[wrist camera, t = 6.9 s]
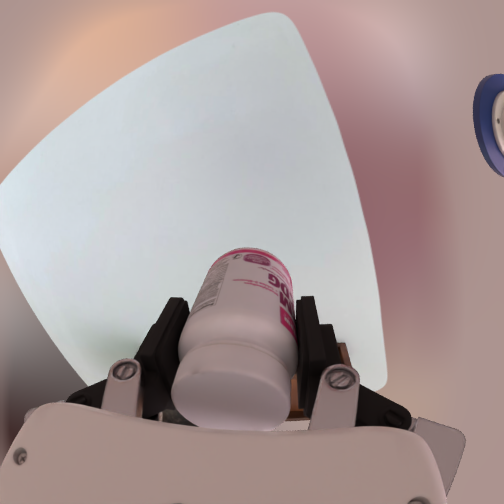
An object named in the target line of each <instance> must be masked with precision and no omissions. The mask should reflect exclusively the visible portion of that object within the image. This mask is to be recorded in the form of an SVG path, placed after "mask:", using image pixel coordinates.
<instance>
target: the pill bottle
mask: <svg viewBox="0 0 504 504" xmlns="http://www.w3.org/2000/svg"><path fill="white" fill-rule="evenodd" d="M178 356H179V361H180V365H179V367H178V370H177V373H176V376H175V379H174V383H173V386H172V389H171V397H172V401H173V404H174V406H175V407H176V409H177V410H178V411H179V413H180V414H181V415H182V416H183V417H184V418H186V419H187V420H189V421H190V422H191V423H193V424H195V425H197V426H199V427H203V428H214V429H227V430H246V431H271V430H272V429H274V428H276V427H278V426H280V425H281V424H282V423H283V422H284V421H285V420H286V418H287V417H288V415H289V412H290V407H291V379H292V378H293V376H294V375H295V372H296V370H297V366H298V361H299V350H298V340H297V330H296V319H295V310H294V301H293V290H292V281H291V277H290V274H289V272H288V270H287V269H286V267H285V265H284V264H283V263H282V262H281V261H280V260H279V259H278V258H277V257H275V256H274V255H273V254H271V253H269V252H267V251H264V250H261V249H257V248H238V249H234V250H231V251H229V252H227V253H225V254H224V255H222V256H221V257H220V258H218V259H217V260H216V261H215V262H214V264H213V265H212V266H211V268H210V269H209V271H208V273H207V276H206V278H205V280H204V282H203V285H202V287H201V289H200V291H199V293H198V296H197V298H196V300H195V303H194V305H193V307H192V309H191V312H190V314H189V316H188V319H187V321H186V323H185V326H184V328H183V331H182V333H181V336H180V340H179V344H178Z"/></svg>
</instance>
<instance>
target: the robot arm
mask: <svg viewBox="0 0 504 504" xmlns="http://www.w3.org/2000/svg"><path fill="white" fill-rule="evenodd" d="M492 126H493V132H494V136H495V139H496V142H497V145H498V147H499V149H500V151H501V153H502V154H503V156H504V91H501V92H500V93H498V95H497V96H496V98H495V100H494V103H493V107H492ZM189 314H190V311H189V307H188V302H187V301H184V299H183V298H178V297H171V298H170V299H169V301H168V302H167V304H166V306H165V308H164V309H163V311H162V313H161V315H160V317H159V318H158V320H157V322H156V324H153V325H152V327H151V328H150V330H149V332H148V334H147V336H146V337H145V339H144V341H143V343H142V345H141V346H140V348H139V350H138V352H137V354H136V356H135V357H134V359H129V358H126V359H122V360H119V361H117V362H116V363H114V364H113V365H112V366H111V368H110V370H109V373H108V378H107V379H105V380H103V381H100V382H98V383H96V384H93V385H91V386H89V387H86V388H84V389H82V390H79V391H77V392H75V393H73V394H72V395H71V396H69V398H68V399H67V401H66V402H65V401H64V400H61V401H58V402H54V403H49V404H45V405H42V406H40V407H36V408H32V409H30V410H29V411H28V412H27V413H26V415H25V419H24V425H23V427H22V428H21V430H20V431H19V433H18V435H17V436H16V438H15V440H14V441H13V443H12V445H11V447H10V449H9V451H8V453H7V455H6V457H5V459H4V461H3V463H2V465H1V467H0V504H447V499H446V497H447V494H448V492H449V490H450V487H451V485H452V482H453V480H454V477H455V475H456V472H457V469H458V466H459V463H460V460H461V457H462V454H463V451H464V448H465V443H466V439H465V436H464V434H463V433H462V432H461V431H459V430H457V429H455V428H451V427H448V426H445V425H442V424H439V423H436V422H433V421H430V420H427V419H424V418H421V417H418V419H416V418H413V417H411V414H410V412H409V411H408V410H407V409H406V408H404V407H403V406H401V405H399V404H397V403H395V402H393V401H391V400H389V399H387V398H385V397H383V396H381V395H379V394H377V393H376V392H374V391H372V390H370V389H368V388H366V387H364V386H362V385H361V384H360V377H359V374H358V372H357V371H356V370H355V369H354V368H352V367H350V366H348V365H344V364H342V362H341V358H340V354H339V350H338V346H337V342H336V338H335V334H334V330H333V326H332V324H319V319H318V315H317V310H316V305H315V300H314V296H301V300H296V330H297V340H298V350H299V361H298V366H297V370H296V375H297V392H298V409H303V414H304V416H306V417H308V418H309V419H311V420H310V423H309V427H308V430H298V431H246V430H227V429H214V428H203V427H194V426H186V425H179V424H172V423H165V422H162V415H163V414H162V411H164V410H166V409H168V410H175V406H174V404H173V401H172V397H171V389H172V386H173V383H174V379H175V376H176V373H177V370H178V367H179V365H180V361H179V356H178V344H179V340H180V336H181V333H182V331H183V328H184V326H185V323H186V321H187V319H188V316H189Z"/></svg>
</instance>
